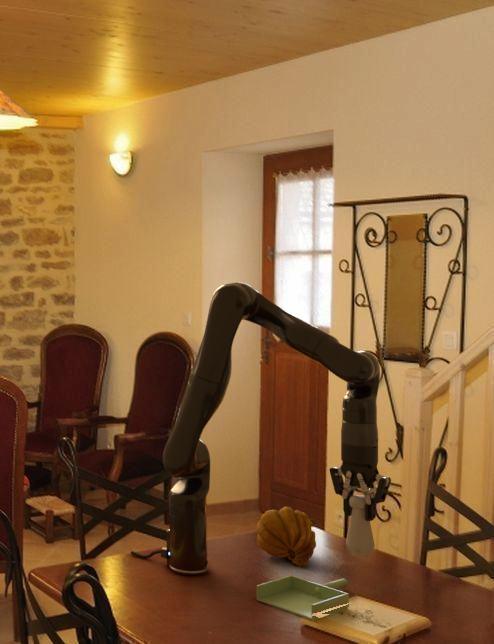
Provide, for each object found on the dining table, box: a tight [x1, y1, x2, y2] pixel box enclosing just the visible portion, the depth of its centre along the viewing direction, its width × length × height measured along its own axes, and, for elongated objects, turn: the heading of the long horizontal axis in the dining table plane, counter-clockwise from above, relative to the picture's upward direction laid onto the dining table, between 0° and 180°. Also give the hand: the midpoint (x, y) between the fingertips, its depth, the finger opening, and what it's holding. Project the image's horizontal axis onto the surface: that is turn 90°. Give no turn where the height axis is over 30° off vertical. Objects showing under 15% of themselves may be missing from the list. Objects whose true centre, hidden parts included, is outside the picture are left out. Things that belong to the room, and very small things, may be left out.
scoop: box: [256, 574, 350, 622], centre depth 204 cm, size 22×15×3 cm, turn 122°
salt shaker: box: [345, 494, 376, 558], centre depth 199 cm, size 6×6×13 cm
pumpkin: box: [256, 505, 317, 568], centre depth 235 cm, size 14×16×20 cm
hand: (359, 517), depth 199 cm, fingers closed on salt shaker, 4 cm apart
